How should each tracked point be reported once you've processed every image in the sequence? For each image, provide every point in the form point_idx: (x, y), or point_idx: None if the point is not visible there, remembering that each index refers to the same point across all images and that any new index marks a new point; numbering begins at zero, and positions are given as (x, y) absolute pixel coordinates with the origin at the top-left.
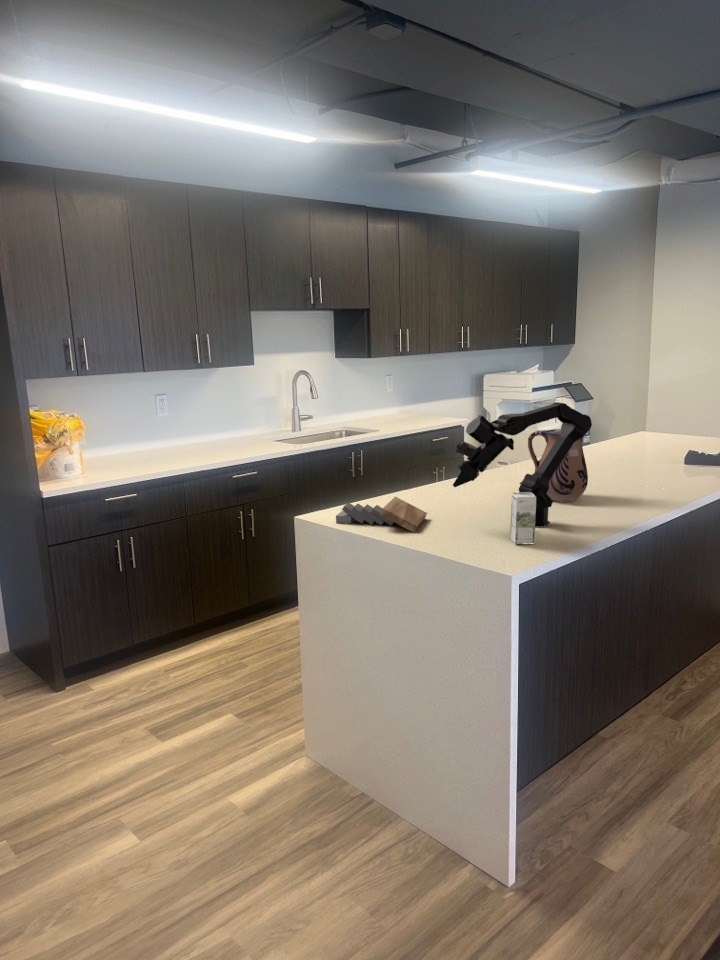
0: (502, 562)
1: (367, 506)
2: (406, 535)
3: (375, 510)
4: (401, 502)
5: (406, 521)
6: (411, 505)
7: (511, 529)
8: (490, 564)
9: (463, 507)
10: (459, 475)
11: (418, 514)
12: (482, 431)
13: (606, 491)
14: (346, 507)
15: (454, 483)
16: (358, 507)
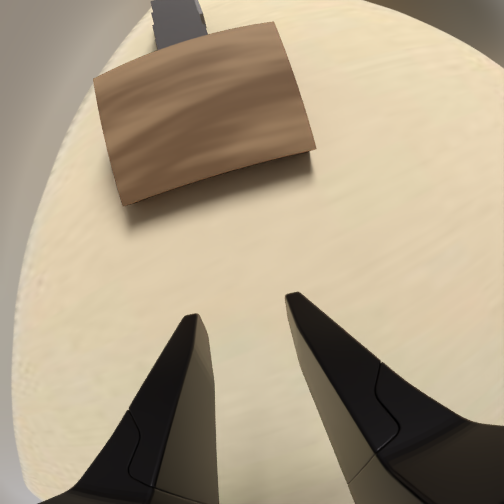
0: (56, 485)
1: (183, 19)
2: (98, 201)
3: (157, 47)
4: (253, 54)
5: (112, 164)
6: (289, 82)
7: None
8: (36, 464)
9: (493, 215)
10: (110, 446)
11: (240, 140)
12: None
13: None
14: (152, 6)
15: (174, 341)
16: (170, 13)
